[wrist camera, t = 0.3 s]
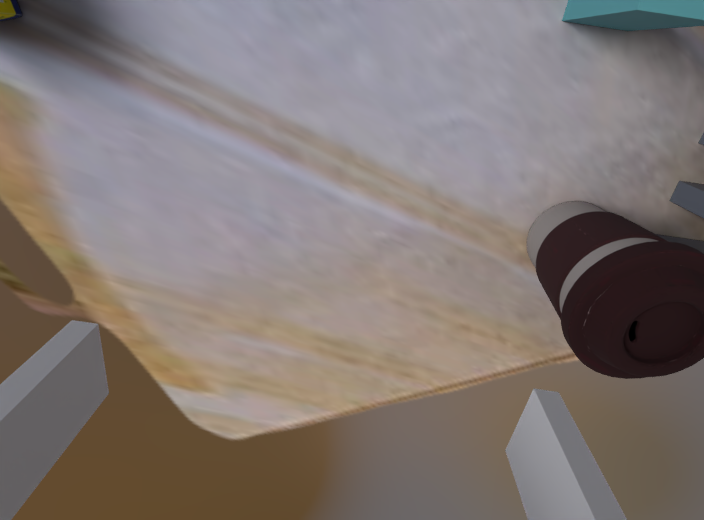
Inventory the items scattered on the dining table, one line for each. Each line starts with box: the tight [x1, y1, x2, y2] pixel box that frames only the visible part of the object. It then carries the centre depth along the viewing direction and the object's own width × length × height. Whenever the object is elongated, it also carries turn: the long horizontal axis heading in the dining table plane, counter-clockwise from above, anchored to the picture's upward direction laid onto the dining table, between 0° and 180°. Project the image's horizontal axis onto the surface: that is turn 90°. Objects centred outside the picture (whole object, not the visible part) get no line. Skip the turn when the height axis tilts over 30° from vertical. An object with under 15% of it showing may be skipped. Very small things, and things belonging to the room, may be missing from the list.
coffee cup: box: [527, 201, 704, 379], centre depth 32 cm, size 10×10×15 cm
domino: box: [562, 0, 704, 31], centre depth 26 cm, size 2×5×10 cm, turn 82°
